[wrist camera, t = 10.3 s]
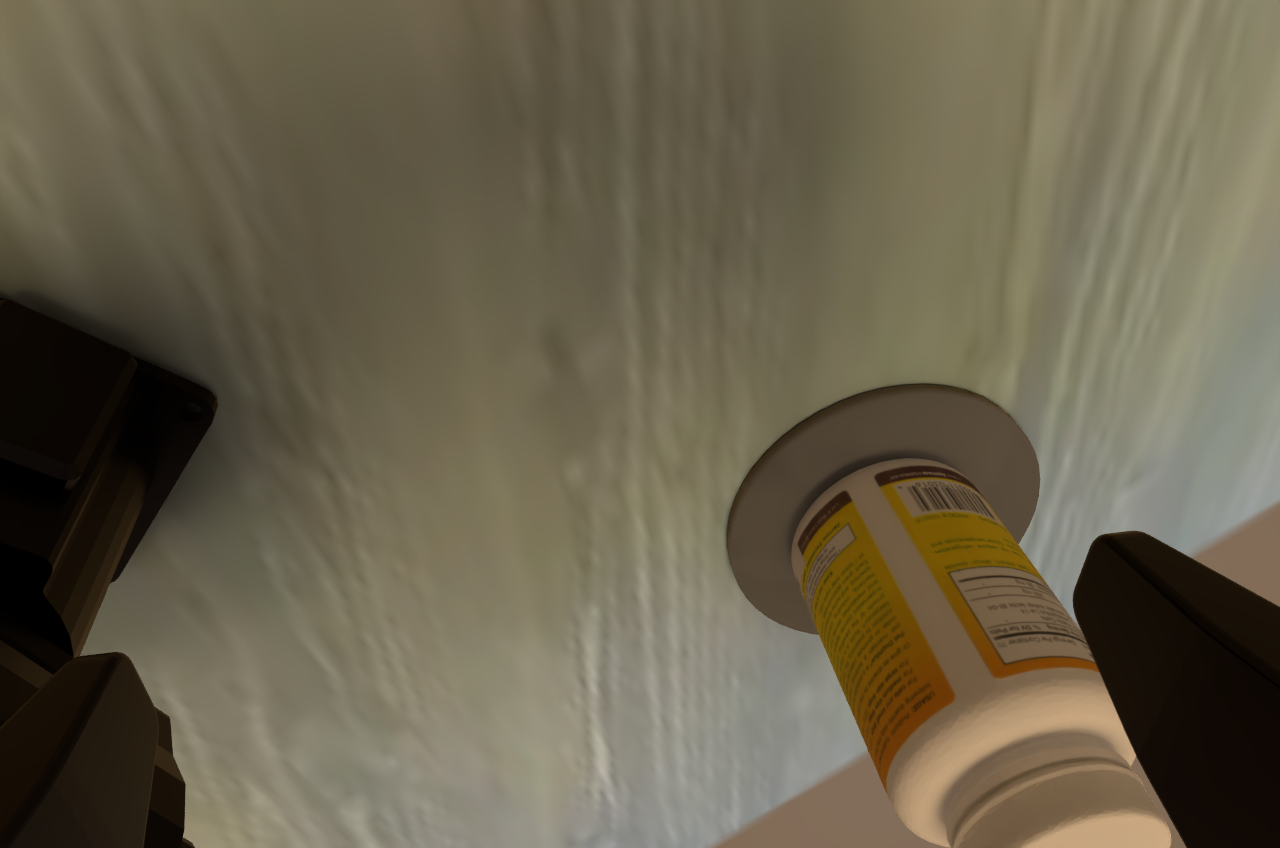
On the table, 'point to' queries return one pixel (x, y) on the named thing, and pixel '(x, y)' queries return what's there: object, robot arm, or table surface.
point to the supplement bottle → (965, 669)
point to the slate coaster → (856, 439)
